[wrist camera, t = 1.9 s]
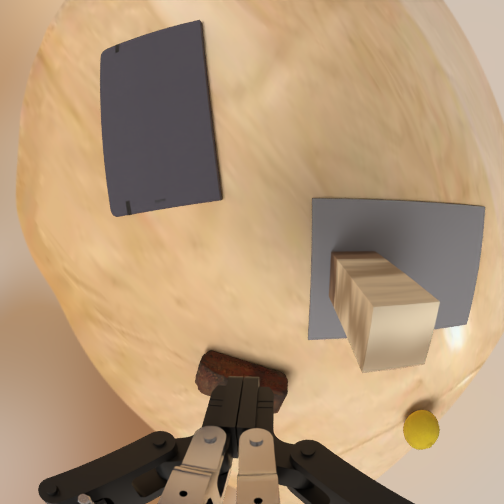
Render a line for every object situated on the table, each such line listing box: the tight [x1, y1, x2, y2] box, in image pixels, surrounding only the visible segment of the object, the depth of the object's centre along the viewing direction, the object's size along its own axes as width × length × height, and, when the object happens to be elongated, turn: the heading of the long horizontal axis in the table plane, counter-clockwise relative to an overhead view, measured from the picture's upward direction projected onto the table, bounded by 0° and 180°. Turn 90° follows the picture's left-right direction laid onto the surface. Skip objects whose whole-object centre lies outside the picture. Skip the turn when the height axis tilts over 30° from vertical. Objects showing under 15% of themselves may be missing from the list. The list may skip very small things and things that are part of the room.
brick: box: [195, 351, 288, 413], centre depth 33 cm, size 11×4×5 cm, turn 72°
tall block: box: [329, 251, 440, 373], centre depth 24 cm, size 5×5×14 cm
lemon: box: [403, 410, 440, 450], centre depth 32 cm, size 6×6×8 cm
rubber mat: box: [308, 198, 485, 340], centre depth 30 cm, size 16×23×1 cm
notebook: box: [100, 20, 222, 217], centre depth 28 cm, size 13×2×21 cm
